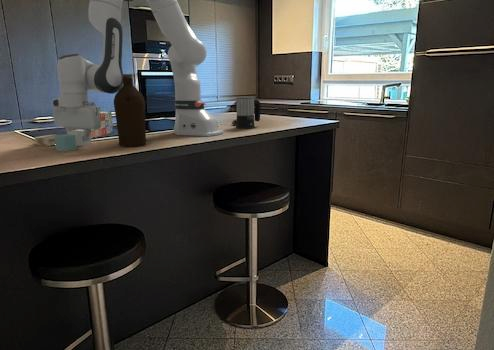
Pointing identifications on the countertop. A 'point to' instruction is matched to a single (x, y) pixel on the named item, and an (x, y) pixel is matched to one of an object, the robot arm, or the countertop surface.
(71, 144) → the teal block
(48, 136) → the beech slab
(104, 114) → the stack of blocks
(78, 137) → the white block
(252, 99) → the milk frother
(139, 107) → the olive oil
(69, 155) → the countertop surface
